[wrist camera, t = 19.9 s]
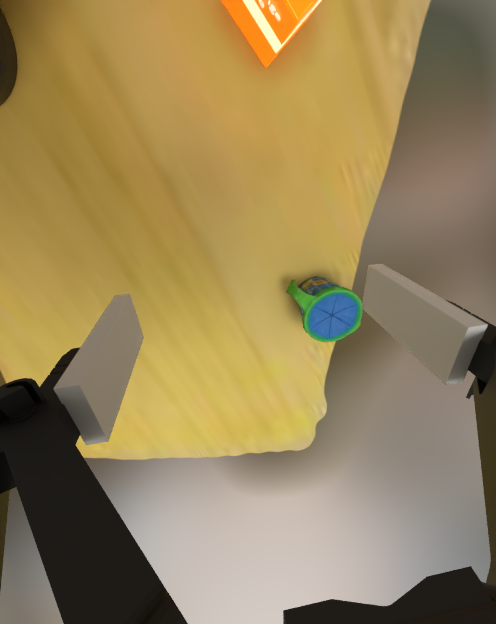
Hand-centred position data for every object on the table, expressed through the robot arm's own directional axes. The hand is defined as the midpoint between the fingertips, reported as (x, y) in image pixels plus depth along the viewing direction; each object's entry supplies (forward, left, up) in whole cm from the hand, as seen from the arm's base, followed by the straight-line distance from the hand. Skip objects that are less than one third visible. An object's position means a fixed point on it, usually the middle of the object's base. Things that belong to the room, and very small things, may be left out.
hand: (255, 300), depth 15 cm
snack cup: (+17, -18, -35) cm, 43 cm away
